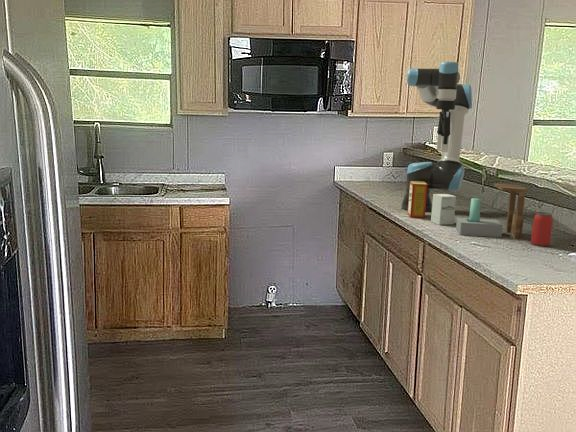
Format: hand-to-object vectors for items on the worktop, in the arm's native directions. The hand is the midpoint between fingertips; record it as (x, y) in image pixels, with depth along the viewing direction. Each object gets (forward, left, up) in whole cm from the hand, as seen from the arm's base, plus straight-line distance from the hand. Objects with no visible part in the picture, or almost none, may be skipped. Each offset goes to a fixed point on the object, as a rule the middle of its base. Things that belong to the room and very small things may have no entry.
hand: (441, 151), depth 236 cm
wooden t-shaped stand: (+15, +25, -32) cm, 43 cm away
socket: (+15, +15, -32) cm, 38 cm away
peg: (+15, +13, -32) cm, 37 cm away
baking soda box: (-16, -7, -32) cm, 36 cm away
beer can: (+29, +35, -32) cm, 56 cm away
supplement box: (-2, +3, -32) cm, 32 cm away
